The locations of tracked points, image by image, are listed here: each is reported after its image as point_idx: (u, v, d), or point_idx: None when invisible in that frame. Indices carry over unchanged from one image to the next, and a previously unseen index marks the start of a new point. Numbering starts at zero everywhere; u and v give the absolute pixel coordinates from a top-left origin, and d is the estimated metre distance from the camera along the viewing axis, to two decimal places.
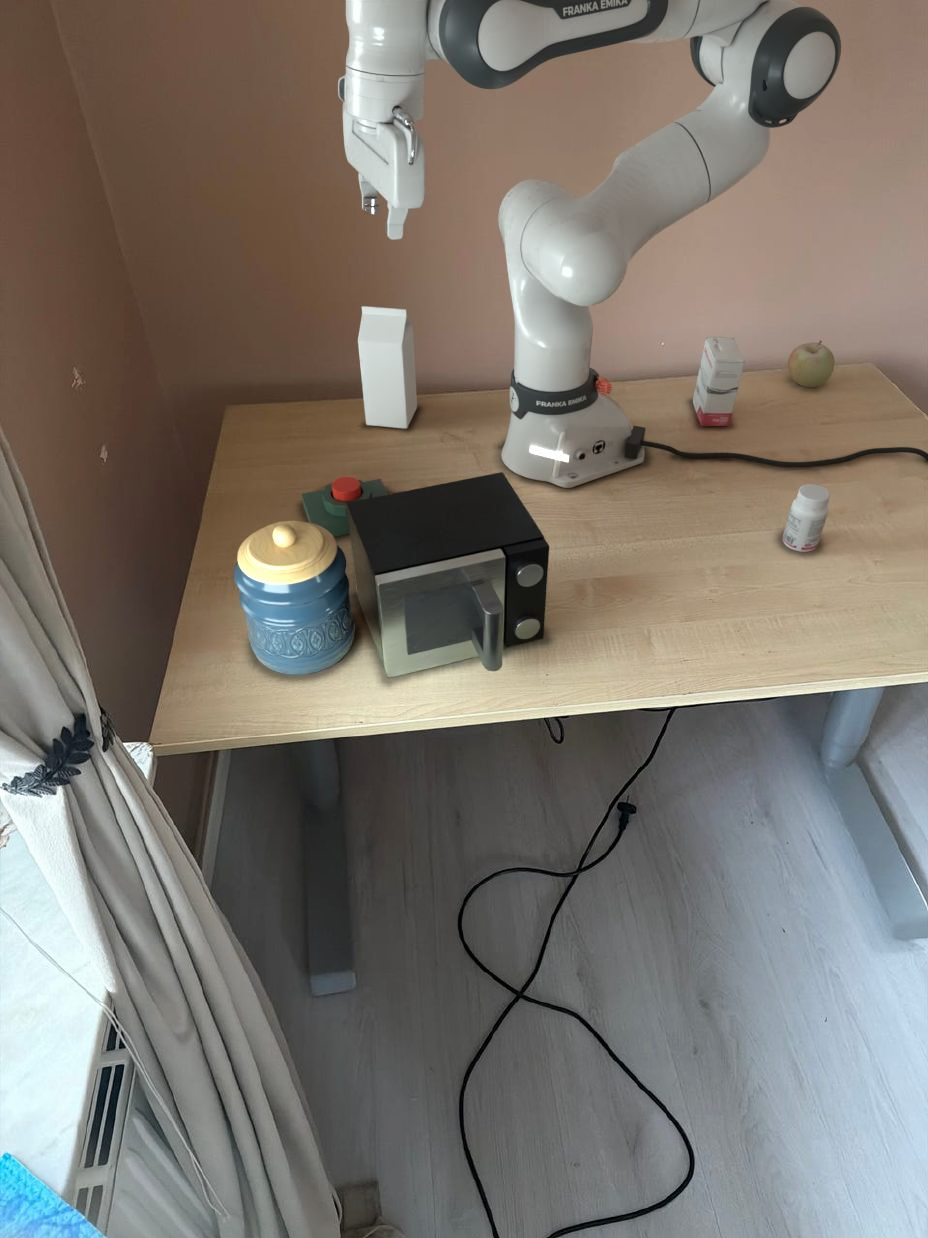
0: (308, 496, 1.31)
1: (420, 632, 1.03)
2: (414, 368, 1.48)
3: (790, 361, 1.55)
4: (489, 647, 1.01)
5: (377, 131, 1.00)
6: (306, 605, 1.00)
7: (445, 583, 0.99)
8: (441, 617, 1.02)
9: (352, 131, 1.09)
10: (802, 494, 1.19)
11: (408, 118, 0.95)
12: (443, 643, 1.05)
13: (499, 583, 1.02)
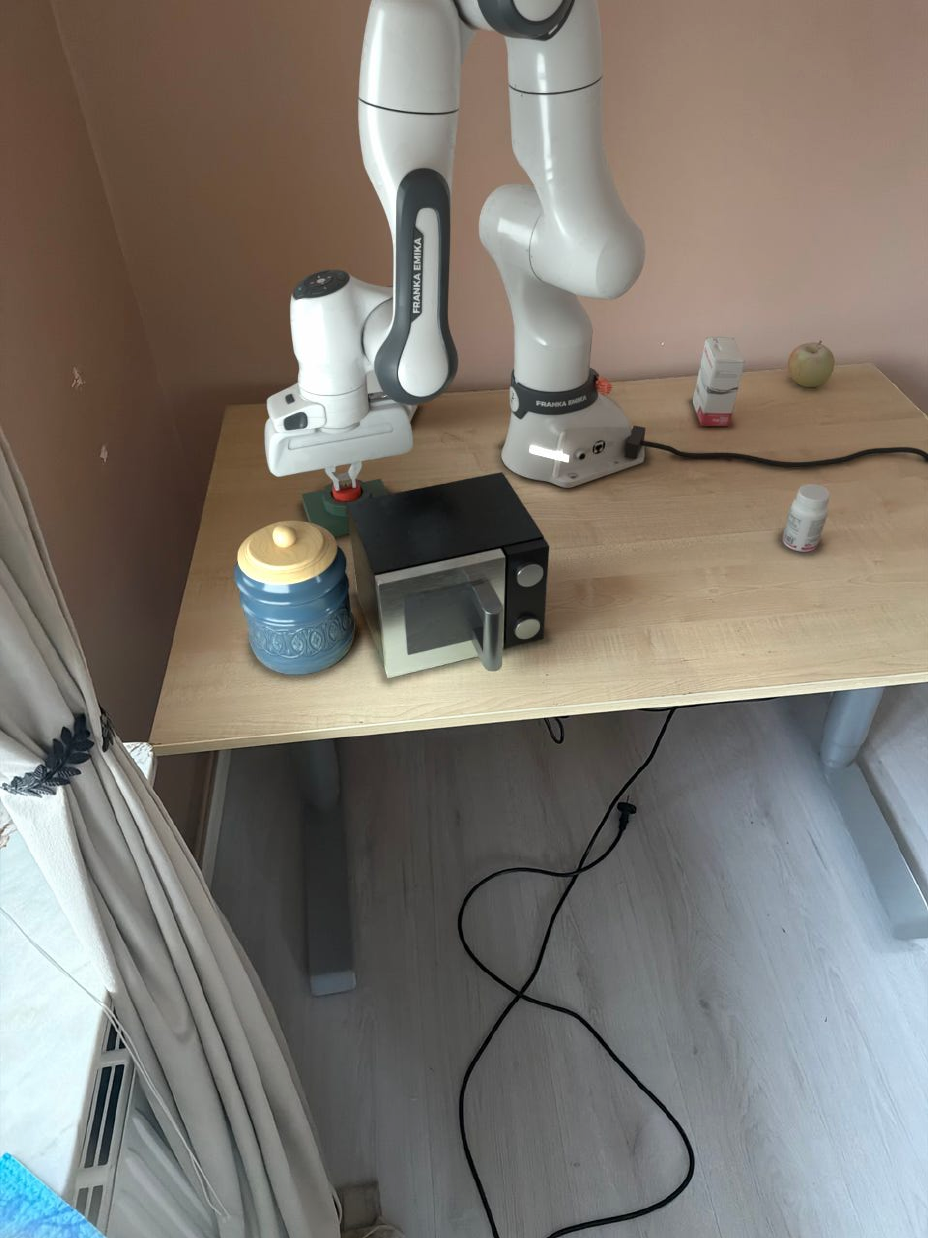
0: (308, 496, 1.31)
1: (420, 632, 1.03)
2: None
3: (790, 361, 1.55)
4: (489, 647, 1.01)
5: (364, 420, 1.19)
6: (306, 605, 1.00)
7: (445, 583, 0.99)
8: (441, 617, 1.02)
9: (289, 449, 1.19)
10: (802, 494, 1.19)
11: None
12: (443, 643, 1.05)
13: (499, 583, 1.02)
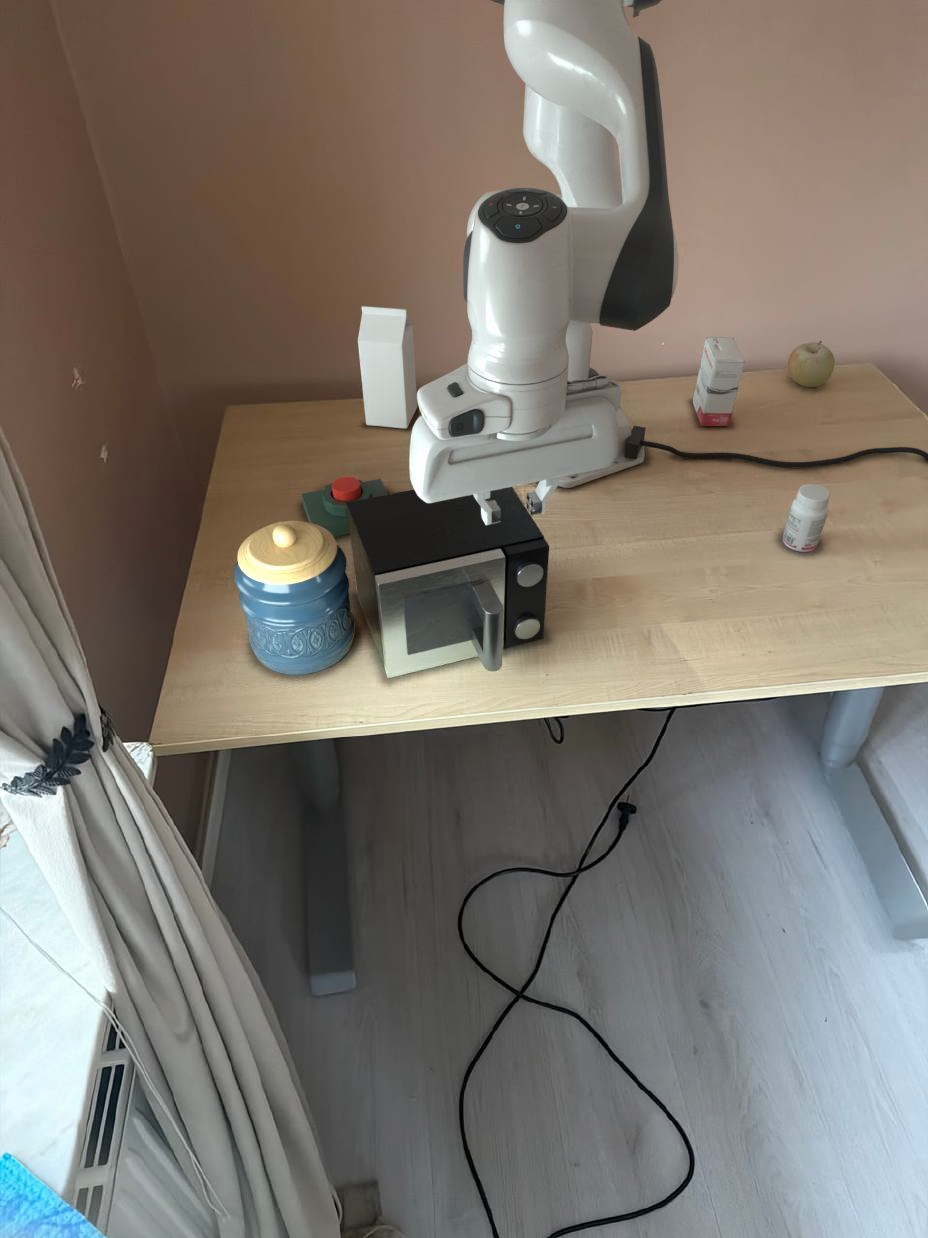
0: (308, 496, 1.31)
1: (420, 632, 1.03)
2: (414, 368, 1.48)
3: (790, 361, 1.55)
4: (489, 647, 1.01)
5: (557, 420, 0.82)
6: (306, 605, 1.00)
7: (445, 583, 0.99)
8: (441, 617, 1.02)
9: (449, 463, 0.81)
10: (802, 494, 1.19)
11: (608, 378, 0.82)
12: (443, 643, 1.05)
13: (499, 583, 1.02)
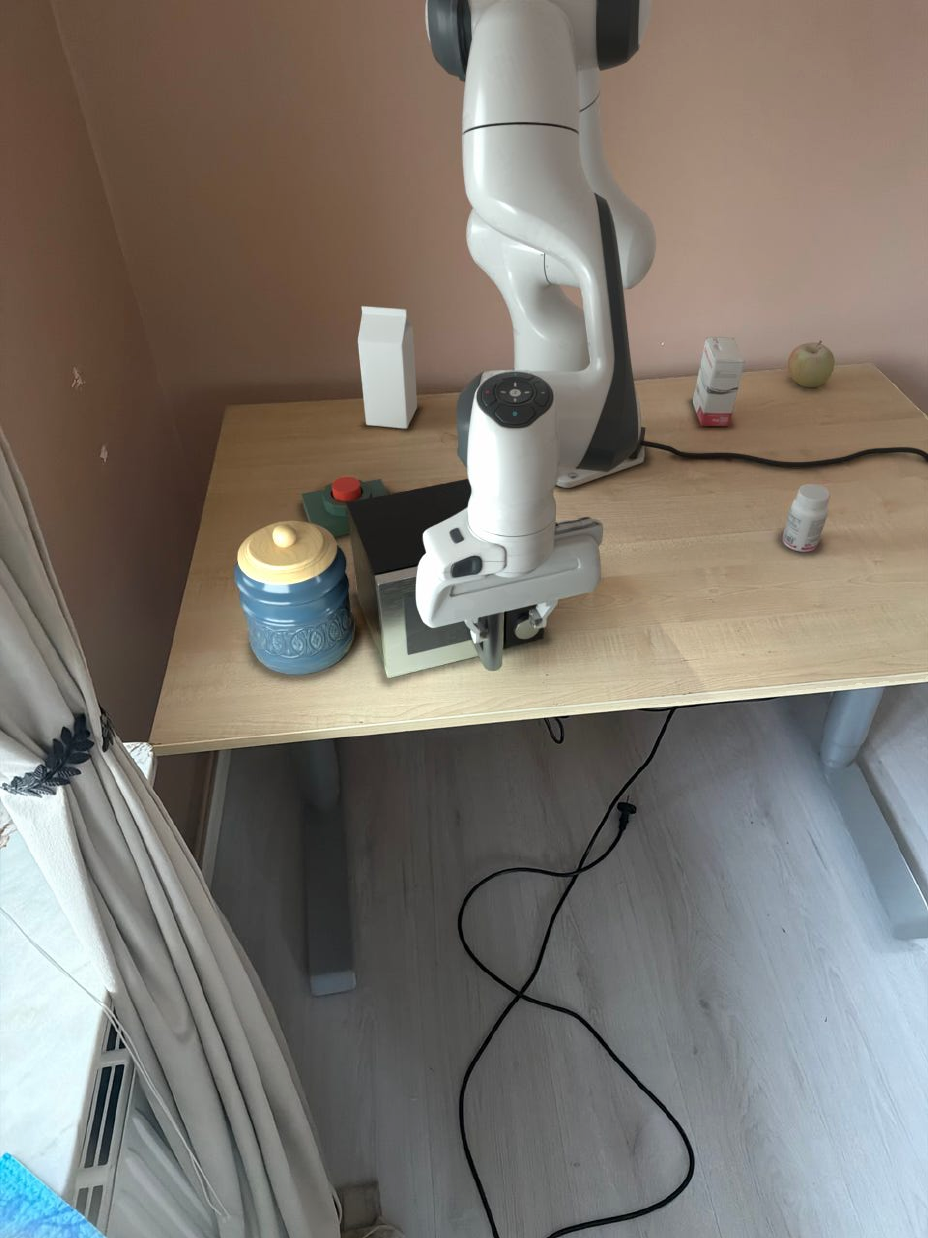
0: (308, 496, 1.31)
1: (420, 632, 1.03)
2: (414, 368, 1.48)
3: (790, 361, 1.55)
4: (489, 646, 1.01)
5: None
6: (306, 605, 1.00)
7: None
8: None
9: (450, 596, 0.92)
10: (802, 494, 1.19)
11: (591, 519, 0.93)
12: (443, 643, 1.05)
13: None
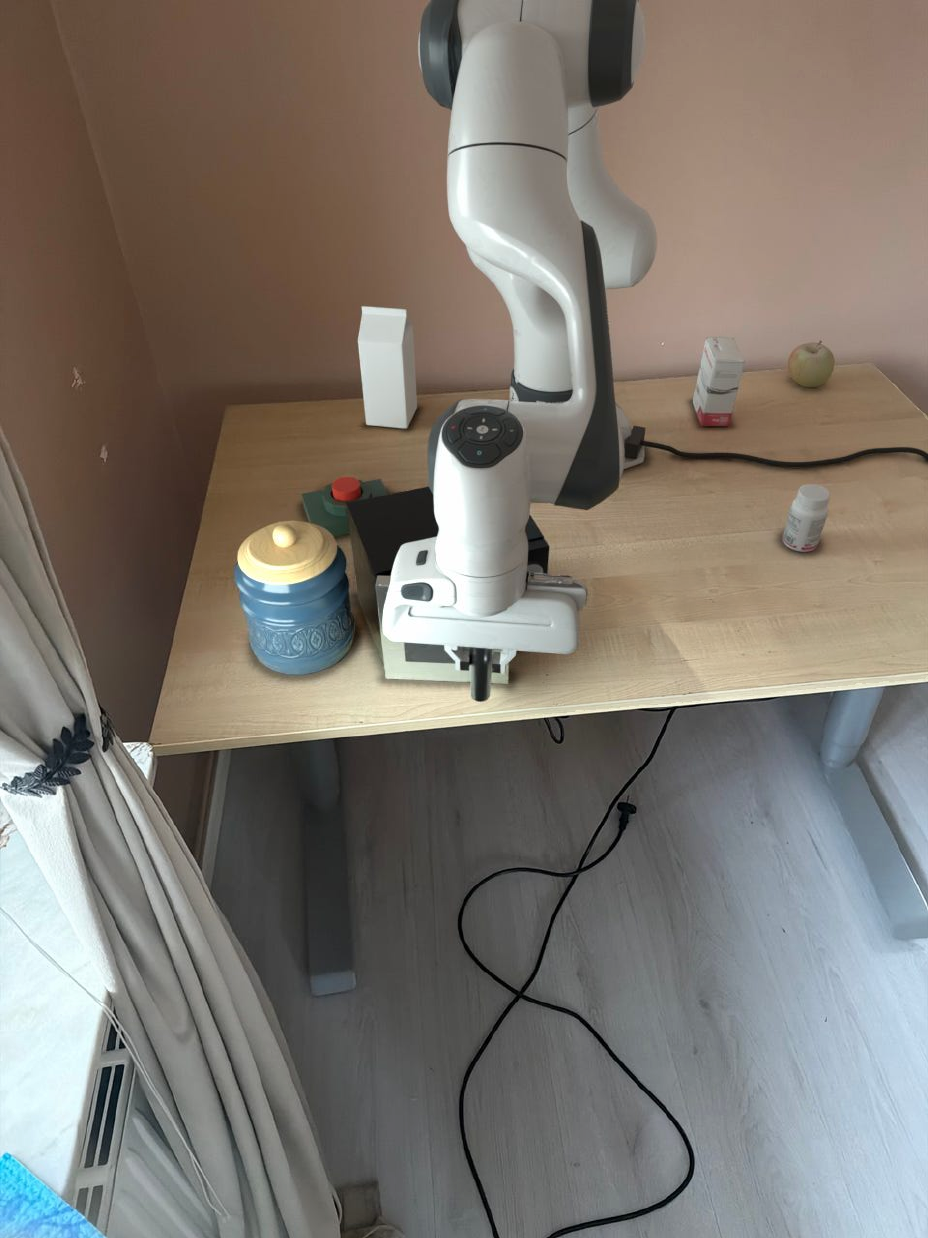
0: (308, 496, 1.31)
1: None
2: (414, 368, 1.48)
3: (790, 361, 1.55)
4: (473, 676, 0.97)
5: (513, 606, 0.87)
6: (306, 605, 1.00)
7: None
8: None
9: (409, 615, 0.90)
10: (802, 494, 1.19)
11: (572, 579, 0.86)
12: (442, 659, 1.03)
13: None
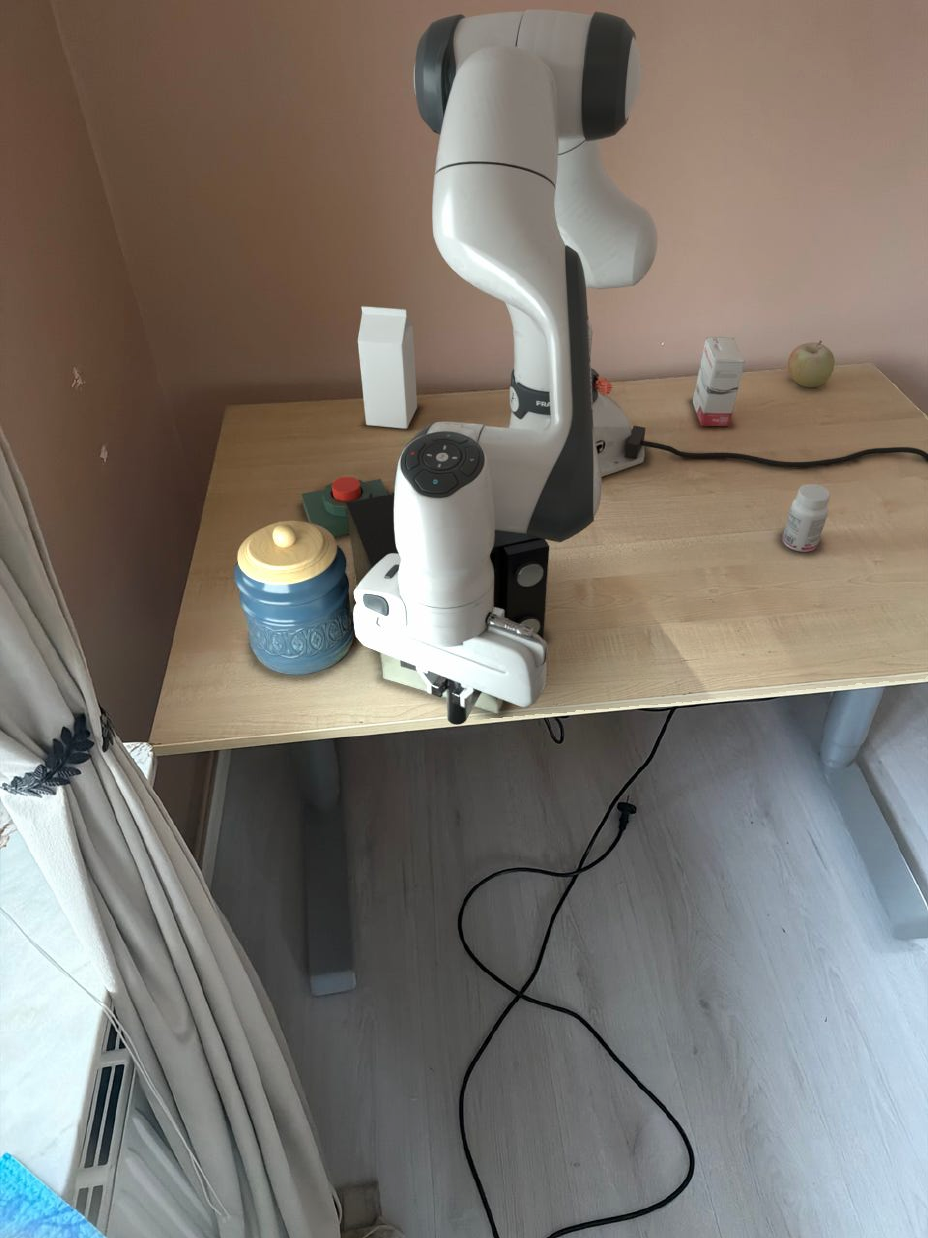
0: (308, 496, 1.31)
1: None
2: (414, 368, 1.48)
3: (790, 361, 1.55)
4: (447, 697, 0.95)
5: (468, 643, 0.84)
6: (306, 605, 1.00)
7: None
8: None
9: (377, 625, 0.89)
10: (802, 494, 1.19)
11: (531, 632, 0.81)
12: None
13: None
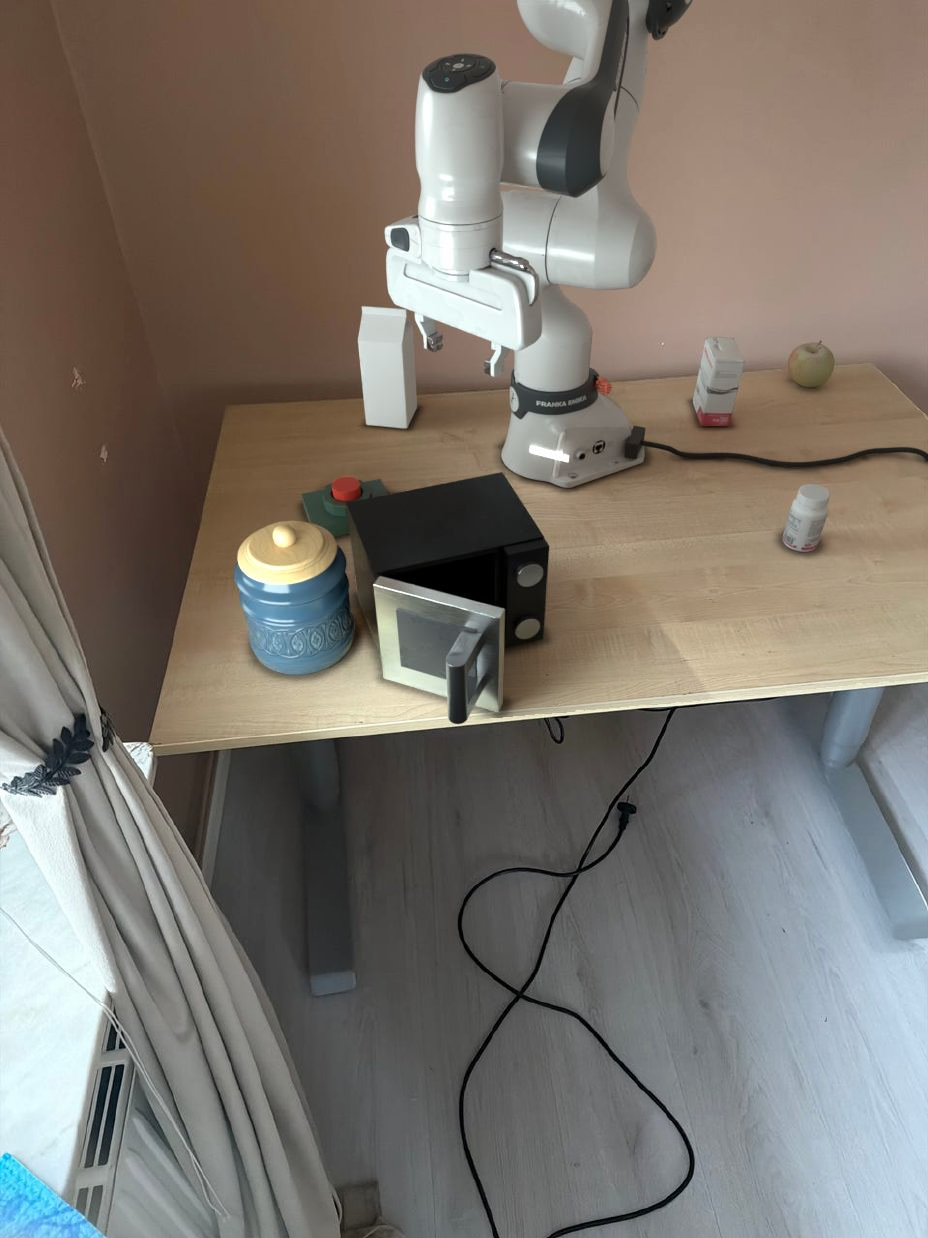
0: (308, 496, 1.31)
1: (412, 650, 1.01)
2: (414, 368, 1.48)
3: (790, 361, 1.55)
4: (448, 696, 0.95)
5: (473, 277, 0.93)
6: (306, 605, 1.00)
7: (437, 615, 0.96)
8: (432, 646, 0.99)
9: (404, 275, 1.00)
10: (802, 494, 1.19)
11: (525, 262, 0.90)
12: (434, 673, 1.02)
13: (493, 642, 0.95)
